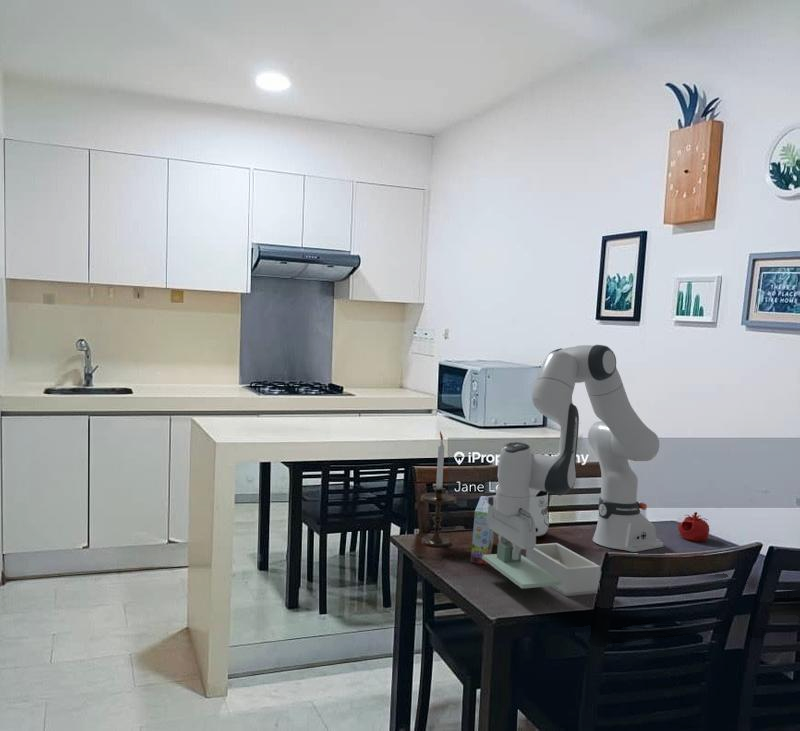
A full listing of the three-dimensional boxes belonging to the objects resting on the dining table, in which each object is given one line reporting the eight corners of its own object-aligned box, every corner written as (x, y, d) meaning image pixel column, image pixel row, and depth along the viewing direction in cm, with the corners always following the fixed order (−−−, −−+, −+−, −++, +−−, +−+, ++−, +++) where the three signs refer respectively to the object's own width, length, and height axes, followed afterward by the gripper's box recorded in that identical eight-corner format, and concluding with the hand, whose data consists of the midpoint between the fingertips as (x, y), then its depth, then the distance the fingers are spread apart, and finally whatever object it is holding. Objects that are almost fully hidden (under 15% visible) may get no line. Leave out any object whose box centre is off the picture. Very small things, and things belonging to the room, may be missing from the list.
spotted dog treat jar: (559, 539, 227) (562, 484, 226) (516, 544, 219) (519, 487, 218) (525, 524, 242) (528, 473, 241) (484, 529, 234) (487, 476, 233)
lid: (517, 558, 192) (519, 538, 192) (560, 587, 173) (562, 565, 172) (482, 560, 188) (483, 540, 188) (521, 591, 169) (523, 568, 168)
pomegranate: (703, 536, 240) (705, 509, 240) (713, 544, 230) (715, 516, 230) (673, 533, 241) (676, 506, 241) (682, 541, 231) (684, 513, 231)
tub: (555, 567, 199) (557, 543, 199) (598, 593, 180) (600, 566, 180) (525, 569, 195) (526, 545, 195) (565, 596, 177) (567, 569, 176)
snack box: (489, 565, 198) (492, 513, 197) (469, 563, 199) (472, 511, 198) (494, 543, 218) (497, 496, 218) (476, 541, 220) (479, 494, 219)
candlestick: (411, 542, 215) (417, 430, 213) (430, 535, 224) (436, 427, 222) (442, 550, 209) (448, 434, 207) (460, 542, 218) (466, 431, 216)
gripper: (543, 514, 177) (540, 567, 177) (504, 495, 196) (501, 543, 196) (522, 515, 174) (518, 569, 175) (484, 495, 194) (481, 544, 194)
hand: (509, 555), depth 186 cm, fingers closed on lid, 4 cm apart
